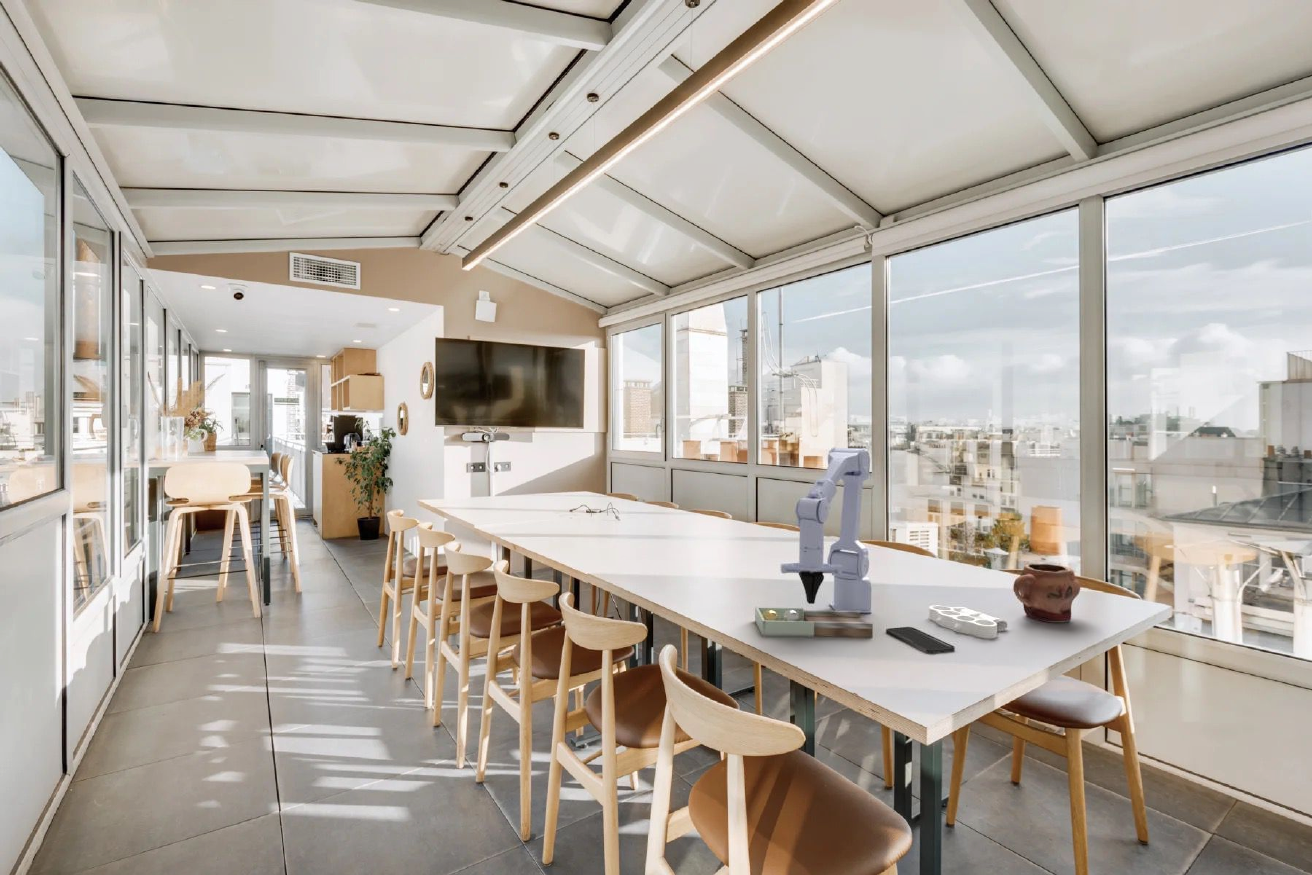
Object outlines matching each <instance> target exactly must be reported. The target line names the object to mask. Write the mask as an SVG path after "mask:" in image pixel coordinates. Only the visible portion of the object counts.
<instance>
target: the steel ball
mask: <svg viewBox="0 0 1312 875" xmlns="http://www.w3.org/2000/svg"><path fill="white" fill-rule="evenodd" d="M799 620H800V618H799V615H798V613H797V612H796V611H794V610H787V611H786V612H785V613H784V614H783V621H799Z"/></svg>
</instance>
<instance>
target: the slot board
mask: <svg viewBox="0 0 1312 875" xmlns="http://www.w3.org/2000/svg"><path fill="white" fill-rule="evenodd" d="M803 621H813V622H814V637H839V638H840V637H842V638H843V637H846V638H847V637H851V638H853V637H854V638H873V635H874V634H873V632H874V630H873V625H874V624H873V623H872V622H871V621H868V622H866V621H865V620H864V619H863V618H862V617H861V613H860V611H835V610H825V609H824V610H819V609H818V610H817V609H813V610H812V609H803Z"/></svg>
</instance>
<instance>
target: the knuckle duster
mask: <svg viewBox="0 0 1312 875" xmlns="http://www.w3.org/2000/svg"><path fill="white" fill-rule="evenodd" d="M928 619H929V621H932V622H936V623H937V624H938V625H939V626H940V627H942V628H947V629H950V630H952V631H954V632H957V633H960V634H961V633H962V634H967V635H971V636H974V637H976V638H979V639H980V638H981V639H988V640H990V639H997V637H998V632H1002V631H1006V629H1007V628H1008V622H1007V621H1006V620H1004V619H1003V618H998V617H993V616H990V615H989V614H986V613H983V612H979V611H975V610H972V609H969V608H967V607H965V606H964V607H963V606H957V607H954V606H953V607H951V606H945V605H937V604H935V605H930V606H929V607H928Z"/></svg>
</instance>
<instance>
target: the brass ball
mask: <svg viewBox="0 0 1312 875" xmlns="http://www.w3.org/2000/svg"><path fill="white" fill-rule="evenodd" d="M762 616H763V618H764V620H765V621H778V615H777V613H776V612H775V611H773V610H767V611H765V612H764V613H763V615H762Z"/></svg>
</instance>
